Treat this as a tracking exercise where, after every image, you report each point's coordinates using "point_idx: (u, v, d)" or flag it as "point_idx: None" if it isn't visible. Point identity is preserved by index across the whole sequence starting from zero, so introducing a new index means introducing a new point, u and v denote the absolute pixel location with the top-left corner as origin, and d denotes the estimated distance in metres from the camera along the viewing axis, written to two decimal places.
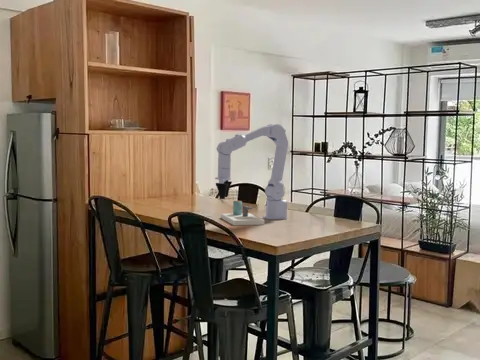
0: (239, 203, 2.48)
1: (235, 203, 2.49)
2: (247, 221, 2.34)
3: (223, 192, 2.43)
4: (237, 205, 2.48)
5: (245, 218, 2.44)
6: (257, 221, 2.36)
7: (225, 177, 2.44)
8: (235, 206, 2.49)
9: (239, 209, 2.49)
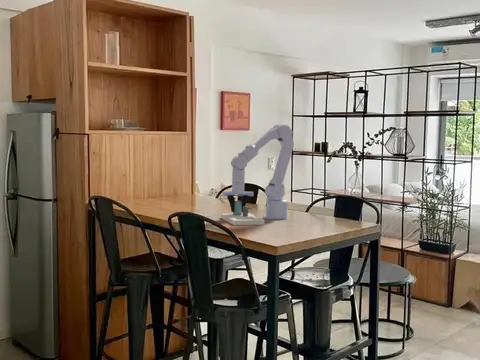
0: (239, 203, 2.48)
1: (235, 203, 2.49)
2: (247, 221, 2.34)
3: (232, 205, 2.49)
4: (237, 205, 2.48)
5: (245, 218, 2.44)
6: (257, 221, 2.36)
7: (233, 191, 2.48)
8: (235, 206, 2.49)
9: (239, 209, 2.49)
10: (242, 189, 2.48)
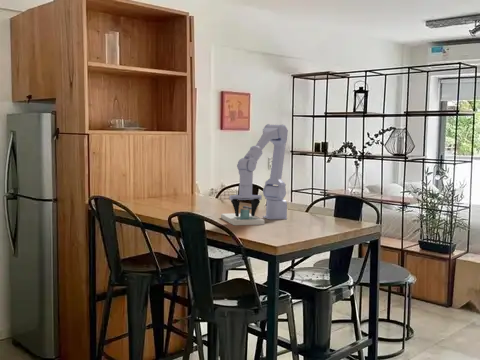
0: (246, 211, 2.38)
1: (242, 211, 2.38)
2: (247, 221, 2.34)
3: None
4: (245, 213, 2.38)
5: None
6: (257, 221, 2.36)
7: (240, 194, 2.37)
8: (242, 214, 2.39)
9: (247, 217, 2.39)
10: (250, 192, 2.37)
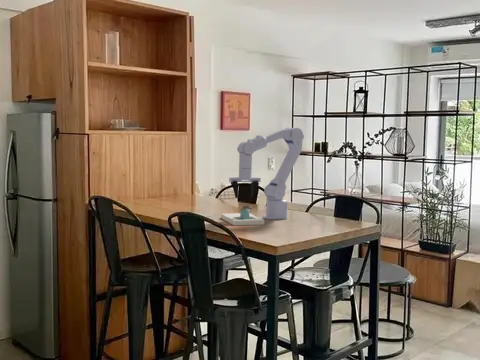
0: (246, 211, 2.38)
1: (242, 211, 2.38)
2: (247, 221, 2.34)
3: (235, 191, 2.47)
4: (245, 213, 2.38)
5: None
6: (257, 221, 2.36)
7: (240, 177, 2.46)
8: (242, 214, 2.39)
9: (246, 217, 2.39)
10: (249, 175, 2.46)
